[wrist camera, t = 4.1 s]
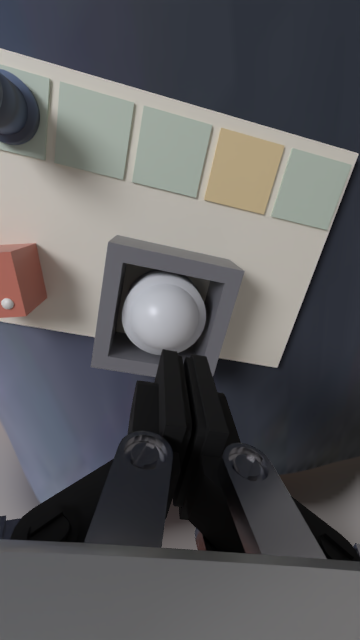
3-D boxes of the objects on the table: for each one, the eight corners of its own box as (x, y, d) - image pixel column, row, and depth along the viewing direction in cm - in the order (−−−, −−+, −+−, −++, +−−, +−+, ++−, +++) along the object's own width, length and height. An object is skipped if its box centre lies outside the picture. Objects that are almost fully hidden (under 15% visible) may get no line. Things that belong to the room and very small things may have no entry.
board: (-28, 44, 18) (-38, 35, 17) (351, 155, 21) (360, 153, 20) (-25, 312, 23) (-32, 317, 22) (274, 363, 27) (278, 369, 26)
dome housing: (116, 234, 21) (108, 241, 17) (229, 259, 23) (244, 271, 19) (101, 340, 24) (90, 367, 20) (201, 357, 25) (210, 385, 22)
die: (-23, 246, 21) (-63, 255, 17) (36, 243, 21) (9, 251, 17) (-8, 301, 22) (-41, 320, 19) (47, 297, 23) (25, 316, 19)
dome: (132, 259, 21) (126, 274, 17) (207, 275, 22) (221, 293, 18) (120, 330, 23) (112, 360, 19) (190, 342, 24) (198, 374, 20)
